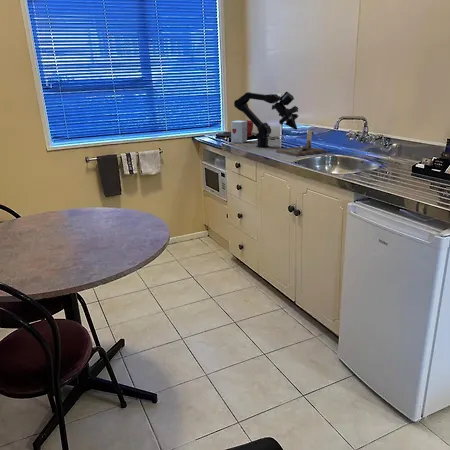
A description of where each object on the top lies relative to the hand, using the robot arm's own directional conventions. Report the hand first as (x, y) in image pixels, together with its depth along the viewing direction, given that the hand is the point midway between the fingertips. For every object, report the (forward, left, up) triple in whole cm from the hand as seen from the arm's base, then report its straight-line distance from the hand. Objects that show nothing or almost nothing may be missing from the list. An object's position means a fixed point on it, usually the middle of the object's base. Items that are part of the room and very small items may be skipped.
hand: (296, 129), depth 273 cm
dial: (-4, -11, -11) cm, 16 cm away
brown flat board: (-4, -9, -13) cm, 16 cm away
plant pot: (+10, +71, -13) cm, 73 cm away
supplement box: (-10, +50, -13) cm, 53 cm away
